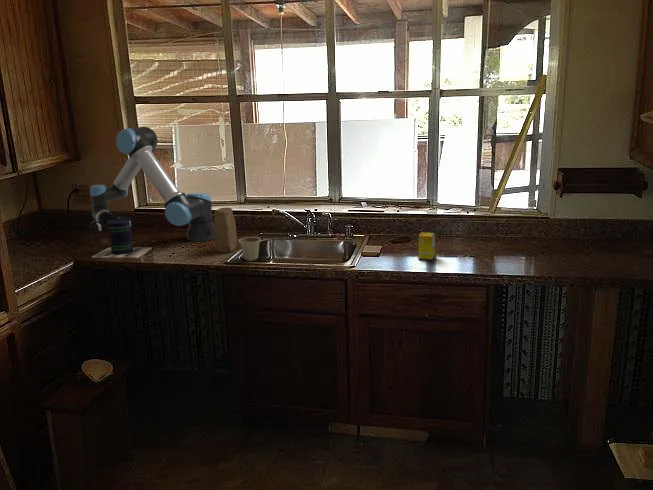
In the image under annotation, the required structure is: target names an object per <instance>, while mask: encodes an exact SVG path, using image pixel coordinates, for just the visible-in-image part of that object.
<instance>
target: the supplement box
mask: <svg viewBox="0 0 653 490" xmlns="http://www.w3.org/2000/svg"><path fill="white" fill-rule="evenodd" d="M435 239H436V233H435V232H424V231H423V232H420V233H419V235H418V255H417V257H418V261H424V262H425V261H426V262H433V260H434V259H435V253H436V252H435V251H436V249H435V248H436V246H435V245H436V244H435V242H436V241H435Z"/></svg>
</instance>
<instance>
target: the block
mask: <svg viewBox="0 0 653 490" xmlns="http://www.w3.org/2000/svg"><path fill="white" fill-rule="evenodd" d="M213 215H214V216H213V224H214V232H215V239H214V241H215V242H214V243H215V248H216V251H217V252H219V253H223V254H224V253H230V252H233V251H235V249H236V247H237V243H238V242H237V241H238V240H237V239H238V237H237V226H236V219H235V216H234V213H233V208H232V207H220V208H217V209H216V210H214V212H213Z"/></svg>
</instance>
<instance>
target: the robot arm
mask: <svg viewBox="0 0 653 490" xmlns="http://www.w3.org/2000/svg"><path fill="white" fill-rule="evenodd" d="M115 139H116V141H115V142H116V143H115V144H116V147H117V149H118V151H119V152H120V153H122V154H124V155H128V158H127V160H126V162H125V163H124V165H123V167H122V168H121V169H120V172H119V173H118V174H117V176H116V178H115V179H114V181H113V183H112V184H111V185H110V186H106V185H105V184H93V185H91V186H90V189H89V190H90V191H89V192H90V199H91V204H92V211H91V212H92V213H91V216H92V218H93V220H92V221H91V222H90V223H89V230H93V229H94V231H97V230H98V231H99V232H102V227H105V228H108V221H110V220H114V219H129V221H130V222H129V223H130V227H132V224H134V220H133V217H131V216H130V217H129V216H122V215H119V216H115V215H114V214H113V213H112V212H110V210H109V203H108V202H112V201H115V200H116V201H117V200H121V199H123V198H126V197H127V196H128V195H129V186H130V185H131V183H132V182H133V180H134V179H135V177H136V176H137V174H138V173H139V171H140V170H142V171H143V172H144V174H145V175H146V177H147V179H148V180H149V181H150V182H151V184H152V186H153V187H154V188H155V190H156V191H157V193H158V194H159V196H160V197H161V199H162V200H163V201H164V202H163V207H164V216H165V218H166V220H167V221H168V222H169V223H170V224H172V225H174V226H178V227H180V226H185V225H188V229H187V233H186V238H187V239H186V240H187V241H189V242H209V241H212V240H215V232H214V219H213V210H212V200H211V195H210V194H209V193H202V192H201V193H197V192H196V193H195V192H194V193H187V194H186V193H185V192H184V191H180V190H179V189H178V187H177V186H176V184H175V183H174V182H173V180H172V179H171V177H170V176H169V174H168V173H167V171H166V170H165V168H164V167H163V166H162V164H161V162H160V161H159V159H158V158H157V157H156V156H155V154H154V152H155V150H156V149H157V146H158V135H157V133H156V132H155V131H154V130H153V129H152V128H150V127H148V126H138V127H131V128H130V127H126V128H124V129H121V130H120V131H119V132H118V133H117V135H116V138H115Z"/></svg>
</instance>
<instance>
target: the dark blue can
mask: <svg viewBox="0 0 653 490" xmlns="http://www.w3.org/2000/svg"><path fill="white" fill-rule="evenodd" d="M129 222H130V221H129V219H114V220H110V221H108V227H107V229H108V234H109V238H110V242H109V244H110V247H111V250H112V254H115V255H122V254H128V253H131V252H133V247H134V244H133V238H132V235H131V231H132V229H131V227H132V226H131V227H130V223H129Z"/></svg>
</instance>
